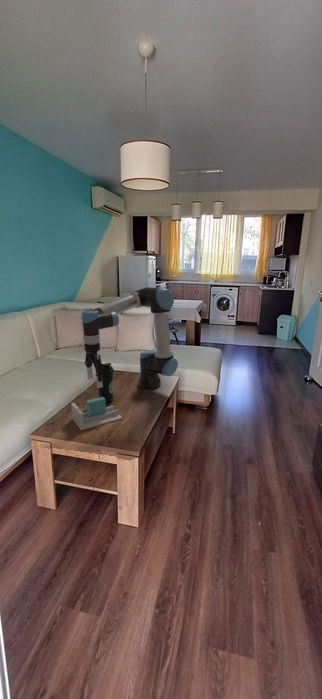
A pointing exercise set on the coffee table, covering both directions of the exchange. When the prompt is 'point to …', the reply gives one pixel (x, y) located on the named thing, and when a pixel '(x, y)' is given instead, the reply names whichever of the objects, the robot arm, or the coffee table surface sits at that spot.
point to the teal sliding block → (96, 406)
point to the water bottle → (107, 383)
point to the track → (93, 417)
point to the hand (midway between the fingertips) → (95, 383)
